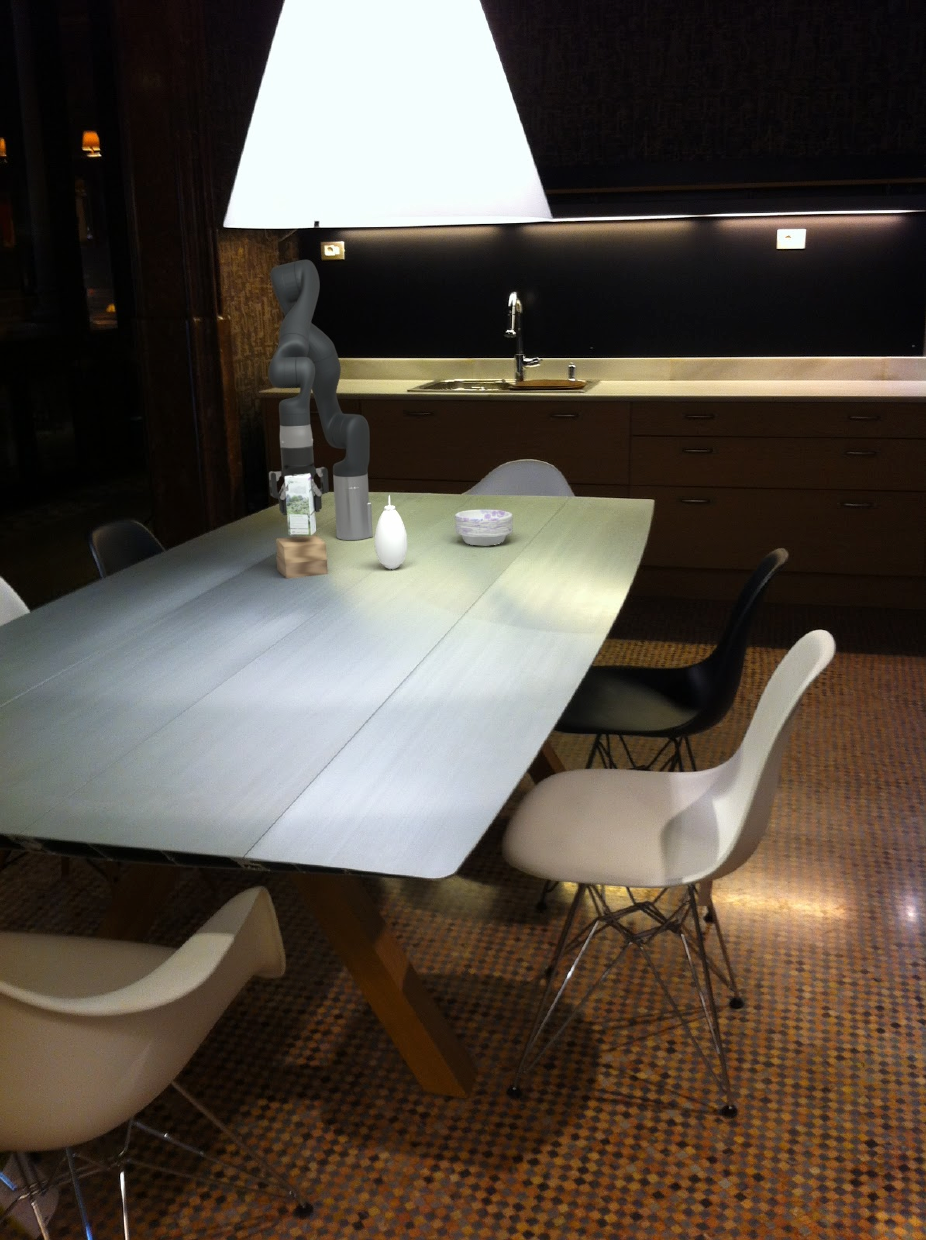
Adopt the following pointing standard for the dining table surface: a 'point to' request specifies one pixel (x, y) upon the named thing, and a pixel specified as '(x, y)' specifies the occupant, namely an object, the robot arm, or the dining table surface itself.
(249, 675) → the dining table surface
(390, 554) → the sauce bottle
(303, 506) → the syrup box
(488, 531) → the paper bowls
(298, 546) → the tower top block
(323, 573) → the tower base block
